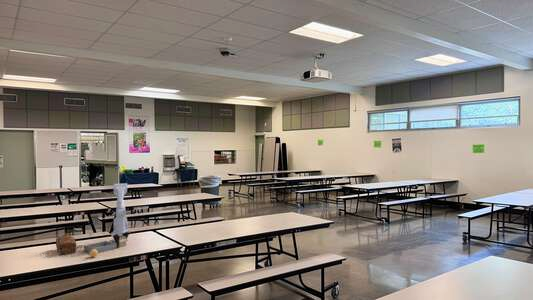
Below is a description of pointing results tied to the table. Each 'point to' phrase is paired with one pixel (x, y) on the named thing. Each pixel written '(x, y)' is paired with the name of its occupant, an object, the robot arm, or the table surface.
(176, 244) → the table surface
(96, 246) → the bin
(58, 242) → the bread
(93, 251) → the egg
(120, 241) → the carton
